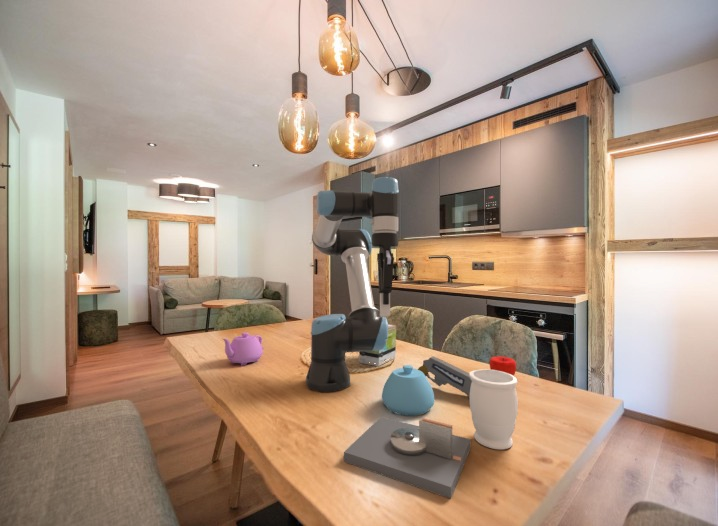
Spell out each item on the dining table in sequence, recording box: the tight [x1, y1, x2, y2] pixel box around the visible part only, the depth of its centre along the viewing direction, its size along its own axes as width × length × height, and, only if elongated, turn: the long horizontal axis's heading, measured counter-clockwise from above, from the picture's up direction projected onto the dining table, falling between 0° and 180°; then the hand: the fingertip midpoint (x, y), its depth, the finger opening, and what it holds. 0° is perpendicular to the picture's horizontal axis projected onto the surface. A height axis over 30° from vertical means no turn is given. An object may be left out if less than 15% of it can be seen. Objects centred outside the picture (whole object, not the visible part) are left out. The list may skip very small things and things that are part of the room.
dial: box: [391, 417, 453, 459], centre depth 69 cm, size 13×8×6 cm, turn 59°
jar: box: [468, 368, 519, 451], centre depth 76 cm, size 11×10×15 cm
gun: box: [417, 356, 472, 398], centre depth 105 cm, size 3×25×15 cm, turn 47°
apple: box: [489, 356, 517, 376], centre depth 115 cm, size 9×9×8 cm
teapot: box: [222, 332, 264, 367], centre depth 136 cm, size 20×14×12 cm
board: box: [343, 416, 471, 499], centre depth 70 cm, size 22×18×2 cm
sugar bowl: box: [381, 364, 435, 417], centre depth 95 cm, size 15×15×12 cm
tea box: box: [358, 324, 397, 367], centre depth 139 cm, size 15×10×15 cm, turn 147°
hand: (385, 315), depth 93 cm, fingers closed
